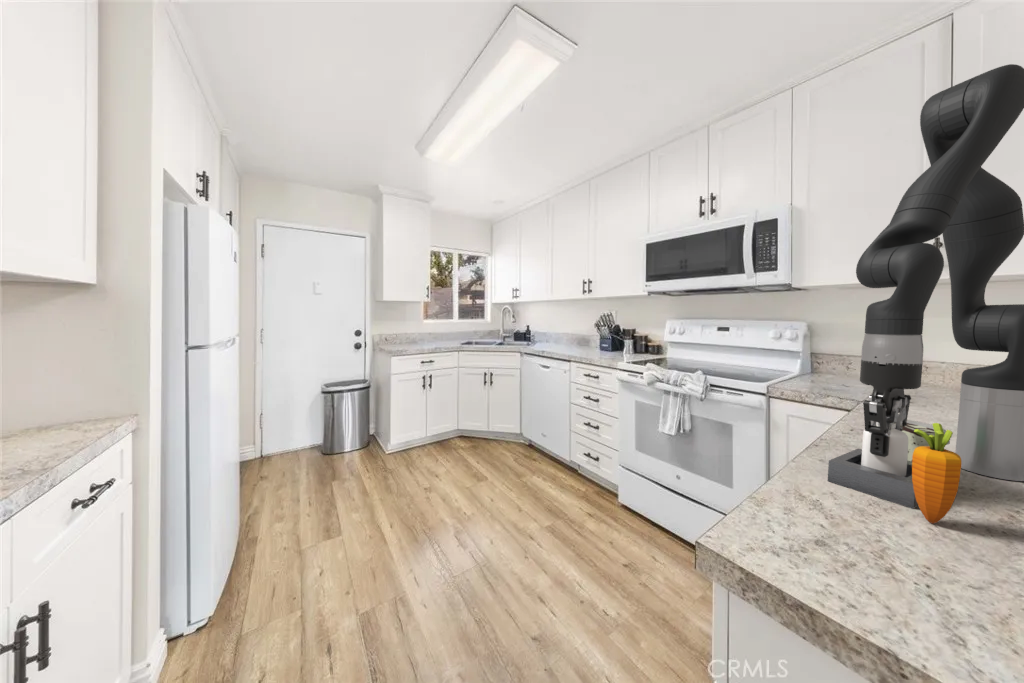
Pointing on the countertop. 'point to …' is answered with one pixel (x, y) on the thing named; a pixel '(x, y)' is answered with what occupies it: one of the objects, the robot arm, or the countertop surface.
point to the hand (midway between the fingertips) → (884, 452)
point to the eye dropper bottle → (895, 458)
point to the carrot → (935, 474)
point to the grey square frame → (872, 479)
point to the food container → (917, 435)
